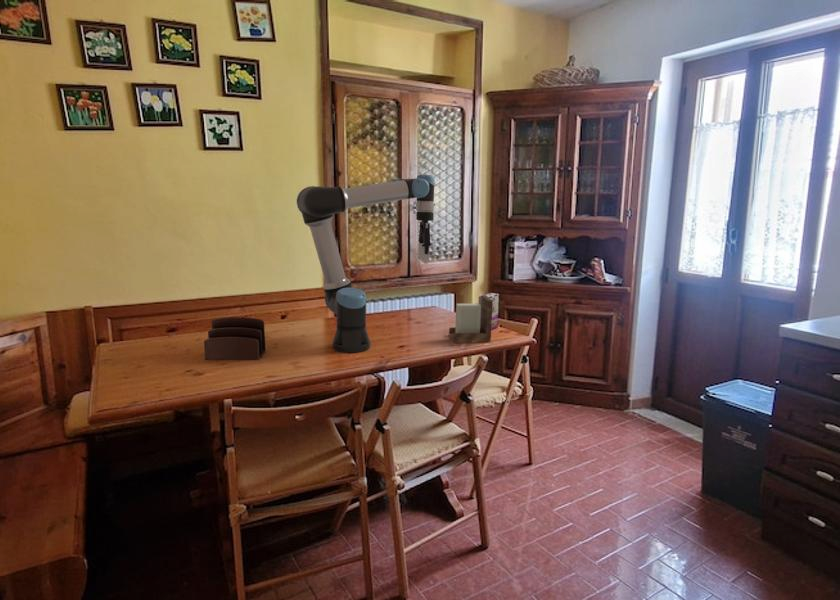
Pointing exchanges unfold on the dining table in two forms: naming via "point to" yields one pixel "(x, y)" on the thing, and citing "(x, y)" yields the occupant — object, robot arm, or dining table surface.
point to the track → (484, 325)
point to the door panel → (468, 318)
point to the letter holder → (235, 339)
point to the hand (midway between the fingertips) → (423, 259)
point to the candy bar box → (493, 308)
